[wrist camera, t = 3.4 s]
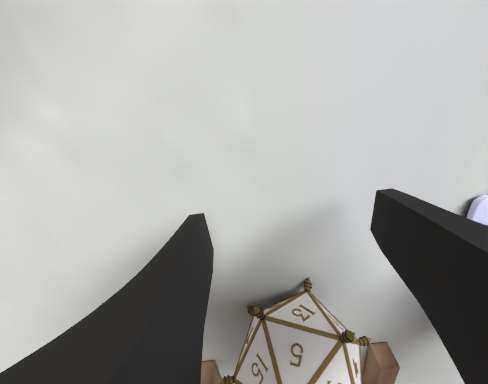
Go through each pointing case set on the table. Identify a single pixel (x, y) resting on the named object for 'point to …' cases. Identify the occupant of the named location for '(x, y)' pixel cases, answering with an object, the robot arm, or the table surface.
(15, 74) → the table surface
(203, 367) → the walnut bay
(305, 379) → the game die
